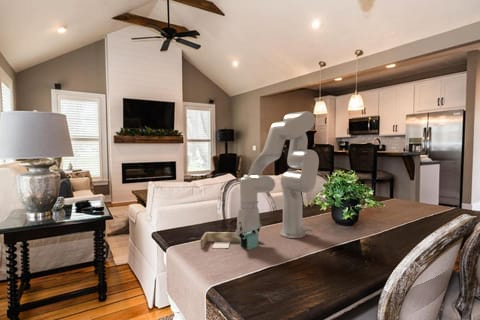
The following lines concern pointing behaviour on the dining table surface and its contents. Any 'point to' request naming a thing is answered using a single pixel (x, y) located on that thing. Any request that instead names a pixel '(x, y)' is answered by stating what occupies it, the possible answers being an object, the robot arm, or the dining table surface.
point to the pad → (221, 245)
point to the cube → (251, 240)
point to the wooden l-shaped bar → (219, 237)
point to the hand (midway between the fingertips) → (249, 244)
